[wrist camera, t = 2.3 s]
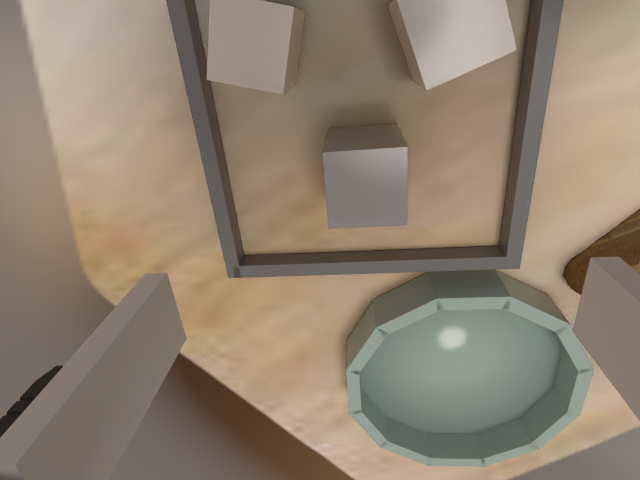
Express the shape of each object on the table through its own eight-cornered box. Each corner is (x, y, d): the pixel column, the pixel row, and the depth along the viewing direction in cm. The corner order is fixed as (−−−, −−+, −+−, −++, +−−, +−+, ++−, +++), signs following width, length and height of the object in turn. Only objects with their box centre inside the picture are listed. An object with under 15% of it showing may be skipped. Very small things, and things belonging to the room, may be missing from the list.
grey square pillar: (329, 128, 26) (322, 152, 21) (397, 123, 26) (407, 146, 20) (333, 191, 28) (328, 228, 23) (396, 188, 28) (406, 225, 22)
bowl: (342, 274, 31) (340, 300, 28) (588, 266, 29) (616, 294, 26) (353, 430, 39) (353, 464, 36) (546, 432, 37) (563, 468, 34)
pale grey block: (387, 5, 23) (396, -2, 18) (464, -35, 22) (493, -53, 17) (413, 81, 24) (426, 90, 20) (485, 47, 23) (516, 50, 19)
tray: (169, -37, 22) (156, -42, 21) (563, -86, 20) (579, -95, 19) (234, 267, 31) (228, 278, 30) (511, 257, 29) (519, 268, 28)
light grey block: (237, -2, 23) (210, -11, 19) (305, 12, 23) (294, 6, 19) (232, 71, 25) (206, 79, 20) (295, 84, 25) (283, 94, 21)
